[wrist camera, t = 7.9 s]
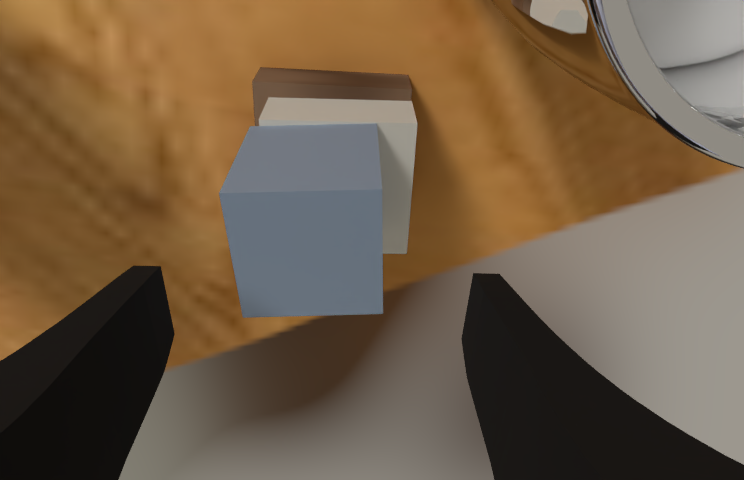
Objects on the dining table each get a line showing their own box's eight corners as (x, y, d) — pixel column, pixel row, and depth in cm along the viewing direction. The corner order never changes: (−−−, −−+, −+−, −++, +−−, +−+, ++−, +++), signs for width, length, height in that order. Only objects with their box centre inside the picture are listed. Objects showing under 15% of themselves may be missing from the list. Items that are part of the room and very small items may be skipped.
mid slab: (277, 220, 21) (269, 251, 20) (268, 97, 19) (258, 119, 17) (402, 223, 22) (406, 254, 20) (411, 101, 19) (417, 123, 17)
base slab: (269, 193, 23) (261, 219, 21) (262, 64, 20) (252, 81, 18) (395, 199, 23) (398, 224, 22) (407, 71, 20) (412, 89, 19)
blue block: (265, 233, 19) (243, 317, 15) (250, 126, 17) (218, 193, 13) (378, 230, 19) (383, 313, 15) (376, 123, 17) (382, 189, 13)
